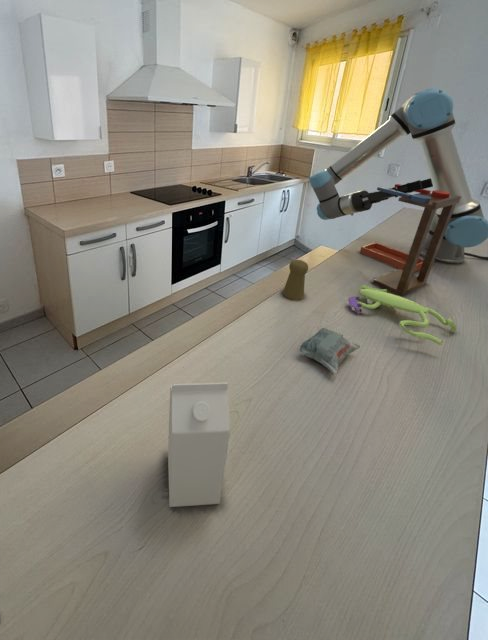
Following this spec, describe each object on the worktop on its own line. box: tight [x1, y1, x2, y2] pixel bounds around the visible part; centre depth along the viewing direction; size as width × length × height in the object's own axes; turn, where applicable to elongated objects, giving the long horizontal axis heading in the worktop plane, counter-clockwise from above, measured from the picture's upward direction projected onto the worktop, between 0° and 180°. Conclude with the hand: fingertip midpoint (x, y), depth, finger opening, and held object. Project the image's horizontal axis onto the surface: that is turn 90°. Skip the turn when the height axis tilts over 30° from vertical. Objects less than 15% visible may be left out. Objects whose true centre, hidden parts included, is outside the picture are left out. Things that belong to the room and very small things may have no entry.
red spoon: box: [394, 183, 450, 199], centre depth 101 cm, size 15×4×1 cm, turn 33°
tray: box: [359, 242, 424, 273], centre depth 123 cm, size 19×10×3 cm, turn 33°
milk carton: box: [167, 382, 231, 508], centre depth 44 cm, size 7×7×19 cm
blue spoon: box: [376, 186, 431, 203], centre depth 95 cm, size 15×4×1 cm, turn 25°
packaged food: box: [299, 327, 361, 376], centre depth 72 cm, size 9×12×5 cm
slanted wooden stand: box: [372, 192, 461, 297], centre depth 100 cm, size 10×16×30 cm, turn 123°
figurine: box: [347, 284, 457, 346], centre depth 87 cm, size 18×27×6 cm
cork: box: [282, 259, 309, 301], centre depth 95 cm, size 6×6×11 cm
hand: (426, 183), depth 100 cm, fingers open, 6 cm apart
